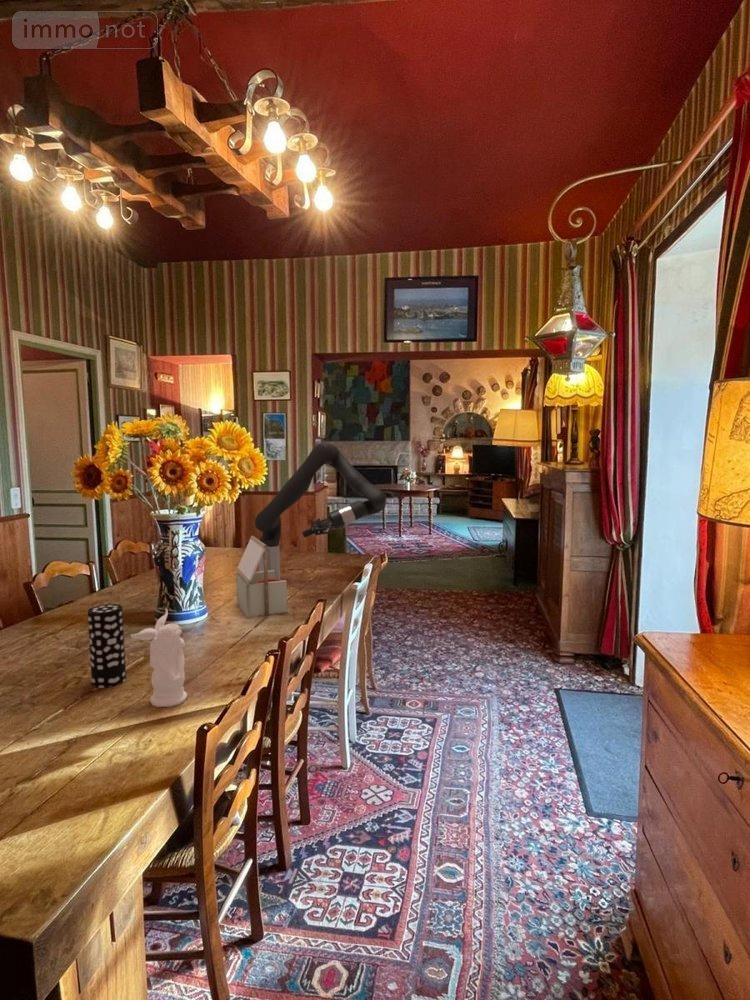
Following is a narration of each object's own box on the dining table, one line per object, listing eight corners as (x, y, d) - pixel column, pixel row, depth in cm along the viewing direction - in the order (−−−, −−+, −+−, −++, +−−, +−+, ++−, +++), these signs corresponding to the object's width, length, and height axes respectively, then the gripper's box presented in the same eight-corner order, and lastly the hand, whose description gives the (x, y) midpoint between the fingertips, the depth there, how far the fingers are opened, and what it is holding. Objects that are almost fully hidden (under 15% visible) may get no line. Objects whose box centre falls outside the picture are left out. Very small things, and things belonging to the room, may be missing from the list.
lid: (238, 571, 223) (235, 570, 223) (253, 536, 224) (251, 535, 224) (250, 583, 202) (247, 583, 202) (267, 545, 203) (264, 544, 203)
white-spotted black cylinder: (102, 674, 154) (97, 604, 152) (131, 675, 154) (127, 604, 152) (85, 687, 146) (80, 613, 144) (116, 688, 145) (112, 613, 143)
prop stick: (264, 615, 207) (262, 552, 204) (268, 614, 207) (266, 552, 205) (265, 616, 205) (263, 553, 203) (269, 615, 206) (267, 553, 204)
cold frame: (237, 603, 222) (236, 573, 221) (274, 598, 229) (273, 570, 227) (247, 617, 204) (246, 585, 203) (287, 612, 210) (286, 581, 209)
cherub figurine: (186, 707, 135) (182, 619, 132) (130, 715, 131) (125, 625, 128) (188, 686, 146) (184, 604, 144) (137, 692, 143) (132, 609, 140)
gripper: (334, 504, 233) (296, 521, 229) (343, 514, 221) (303, 532, 217) (340, 520, 236) (302, 537, 232) (349, 530, 224) (310, 548, 220)
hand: (303, 534), depth 225 cm, fingers closed
